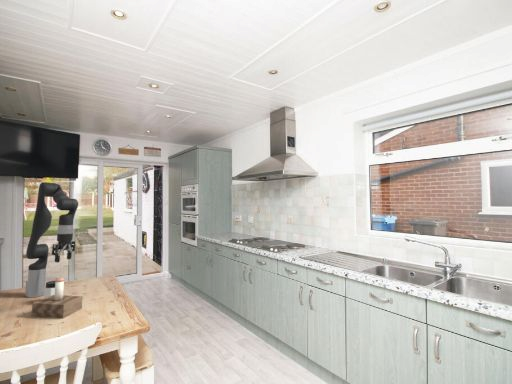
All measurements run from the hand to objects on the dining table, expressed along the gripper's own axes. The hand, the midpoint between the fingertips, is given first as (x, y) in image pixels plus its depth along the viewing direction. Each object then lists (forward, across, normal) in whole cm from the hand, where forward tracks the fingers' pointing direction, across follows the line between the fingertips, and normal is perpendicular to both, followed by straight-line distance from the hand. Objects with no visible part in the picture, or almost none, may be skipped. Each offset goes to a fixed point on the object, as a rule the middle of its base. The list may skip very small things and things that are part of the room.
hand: (63, 260), depth 158 cm
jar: (+28, -11, -14) cm, 33 cm away
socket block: (+28, +4, +3) cm, 28 cm away
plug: (+22, +4, +2) cm, 23 cm away
